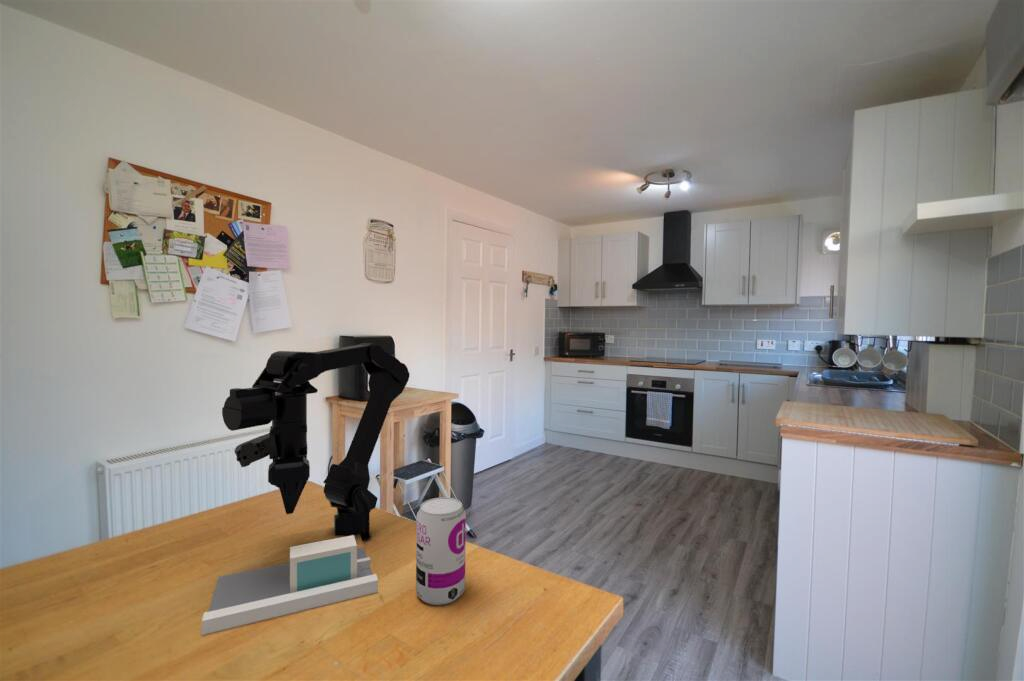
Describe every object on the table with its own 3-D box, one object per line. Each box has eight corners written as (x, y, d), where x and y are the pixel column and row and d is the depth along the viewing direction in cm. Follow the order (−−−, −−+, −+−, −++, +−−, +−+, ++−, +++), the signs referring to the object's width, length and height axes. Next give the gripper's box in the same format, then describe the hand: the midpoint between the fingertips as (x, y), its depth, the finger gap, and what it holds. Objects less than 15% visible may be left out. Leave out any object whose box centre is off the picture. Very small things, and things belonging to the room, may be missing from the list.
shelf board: (364, 555, 87) (364, 537, 87) (378, 600, 73) (378, 580, 73) (218, 585, 77) (218, 565, 77) (201, 645, 62) (201, 621, 62)
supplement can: (473, 585, 78) (474, 501, 77) (447, 613, 70) (448, 519, 70) (434, 574, 81) (435, 492, 81) (405, 599, 74) (406, 509, 73)
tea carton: (290, 588, 74) (290, 546, 73) (353, 574, 78) (353, 534, 78) (290, 602, 70) (289, 558, 70) (356, 586, 74) (357, 545, 74)
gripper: (243, 413, 86) (244, 493, 87) (231, 435, 70) (232, 534, 70) (306, 409, 91) (306, 484, 92) (309, 429, 75) (309, 521, 75)
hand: (289, 503), depth 82 cm, fingers open, 9 cm apart
